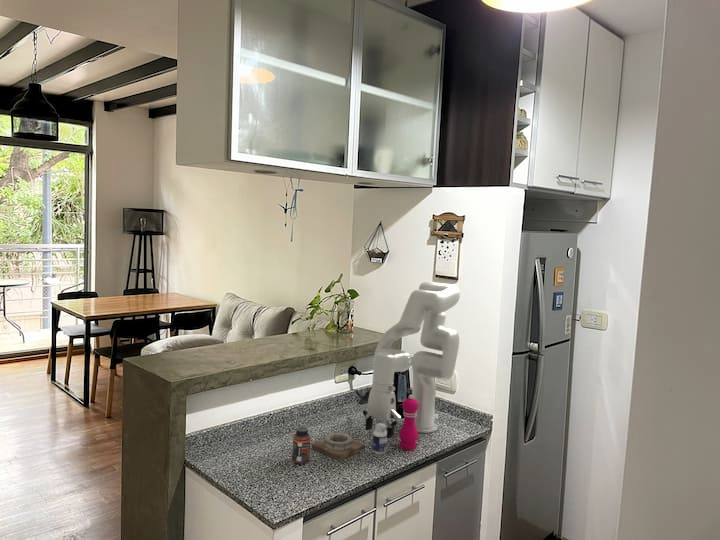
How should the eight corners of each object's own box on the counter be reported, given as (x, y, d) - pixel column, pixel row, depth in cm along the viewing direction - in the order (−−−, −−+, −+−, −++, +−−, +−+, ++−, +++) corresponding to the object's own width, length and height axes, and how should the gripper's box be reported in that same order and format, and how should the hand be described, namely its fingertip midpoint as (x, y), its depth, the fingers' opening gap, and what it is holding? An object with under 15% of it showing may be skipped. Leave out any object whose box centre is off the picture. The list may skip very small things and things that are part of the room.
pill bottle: (369, 449, 195) (370, 423, 194) (382, 447, 197) (384, 421, 196) (375, 455, 190) (377, 428, 189) (389, 453, 192) (390, 427, 191)
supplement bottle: (302, 466, 178) (303, 433, 177) (288, 461, 181) (289, 429, 180) (312, 460, 183) (314, 428, 182) (299, 455, 187) (300, 424, 186)
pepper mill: (416, 451, 194) (419, 398, 193) (396, 449, 196) (400, 396, 194) (418, 444, 202) (421, 392, 200) (399, 441, 203) (402, 390, 201)
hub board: (337, 437, 204) (337, 427, 204) (365, 448, 195) (365, 438, 195) (311, 447, 193) (311, 437, 193) (339, 460, 184) (340, 449, 184)
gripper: (408, 390, 189) (404, 437, 190) (370, 379, 200) (367, 424, 201) (395, 394, 183) (392, 443, 184) (357, 383, 194) (354, 429, 195)
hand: (379, 433), depth 192 cm, fingers open, 9 cm apart
